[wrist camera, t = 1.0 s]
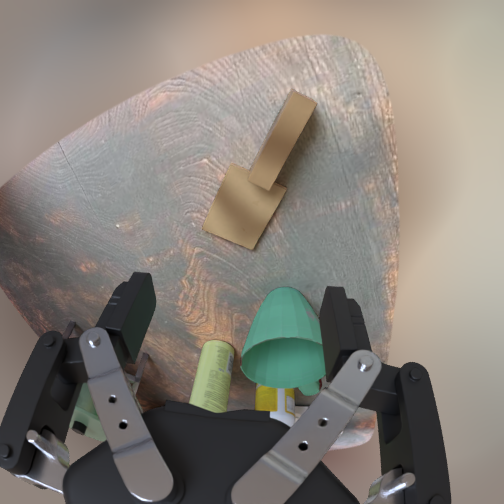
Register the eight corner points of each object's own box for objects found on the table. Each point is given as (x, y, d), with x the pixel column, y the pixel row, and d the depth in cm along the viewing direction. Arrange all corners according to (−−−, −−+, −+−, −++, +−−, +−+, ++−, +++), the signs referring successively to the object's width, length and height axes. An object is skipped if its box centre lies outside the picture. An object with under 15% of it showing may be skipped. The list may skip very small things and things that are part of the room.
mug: (231, 287, 38) (221, 352, 29) (306, 259, 35) (315, 325, 26) (281, 352, 45) (281, 410, 36) (343, 333, 42) (353, 392, 33)
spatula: (272, 79, 24) (272, 80, 21) (331, 109, 25) (337, 114, 23) (202, 226, 33) (196, 241, 30) (252, 247, 34) (251, 263, 32)
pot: (70, 359, 52) (42, 422, 39) (67, 318, 44) (27, 394, 31) (140, 389, 56) (121, 457, 42) (152, 356, 48) (127, 440, 34)
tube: (196, 353, 46) (173, 468, 30) (200, 334, 43) (174, 460, 27) (232, 360, 47) (218, 476, 31) (238, 342, 44) (224, 469, 28)
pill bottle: (249, 381, 50) (244, 441, 40) (271, 365, 47) (270, 430, 37) (278, 392, 52) (277, 449, 42) (301, 378, 49) (304, 439, 39)
